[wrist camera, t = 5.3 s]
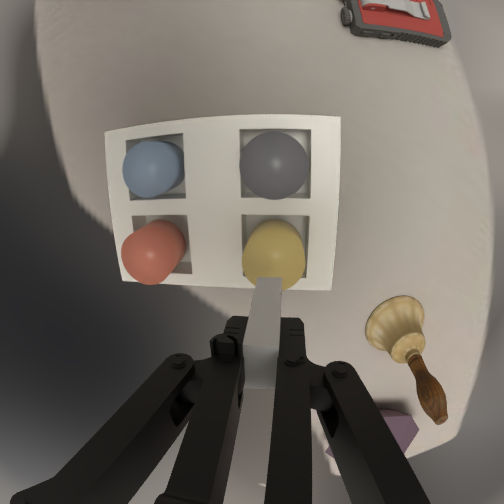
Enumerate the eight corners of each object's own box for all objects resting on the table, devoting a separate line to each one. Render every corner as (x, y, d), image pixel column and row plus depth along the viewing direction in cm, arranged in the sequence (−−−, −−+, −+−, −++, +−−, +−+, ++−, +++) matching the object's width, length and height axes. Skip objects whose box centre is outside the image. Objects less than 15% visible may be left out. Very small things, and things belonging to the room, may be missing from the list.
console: (124, 132, 27) (104, 131, 23) (332, 121, 25) (340, 116, 21) (138, 266, 33) (122, 280, 29) (325, 273, 30) (330, 290, 27)
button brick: (137, 219, 27) (117, 231, 23) (183, 218, 26) (167, 231, 22) (144, 266, 28) (126, 283, 25) (188, 268, 28) (174, 286, 24)
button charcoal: (245, 134, 23) (238, 132, 19) (305, 135, 22) (309, 132, 19) (246, 191, 25) (240, 199, 21) (304, 192, 24) (308, 200, 20)
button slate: (140, 144, 26) (120, 145, 22) (186, 139, 25) (170, 138, 22) (143, 191, 28) (124, 199, 24) (188, 189, 27) (173, 196, 23)
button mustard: (247, 219, 25) (240, 231, 22) (303, 220, 25) (307, 233, 21) (248, 270, 27) (242, 290, 24) (301, 271, 27) (303, 292, 23)
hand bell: (429, 292, 30) (492, 379, 15) (416, 345, 33) (458, 434, 18) (369, 297, 31) (413, 401, 16) (361, 352, 34) (387, 453, 19)
